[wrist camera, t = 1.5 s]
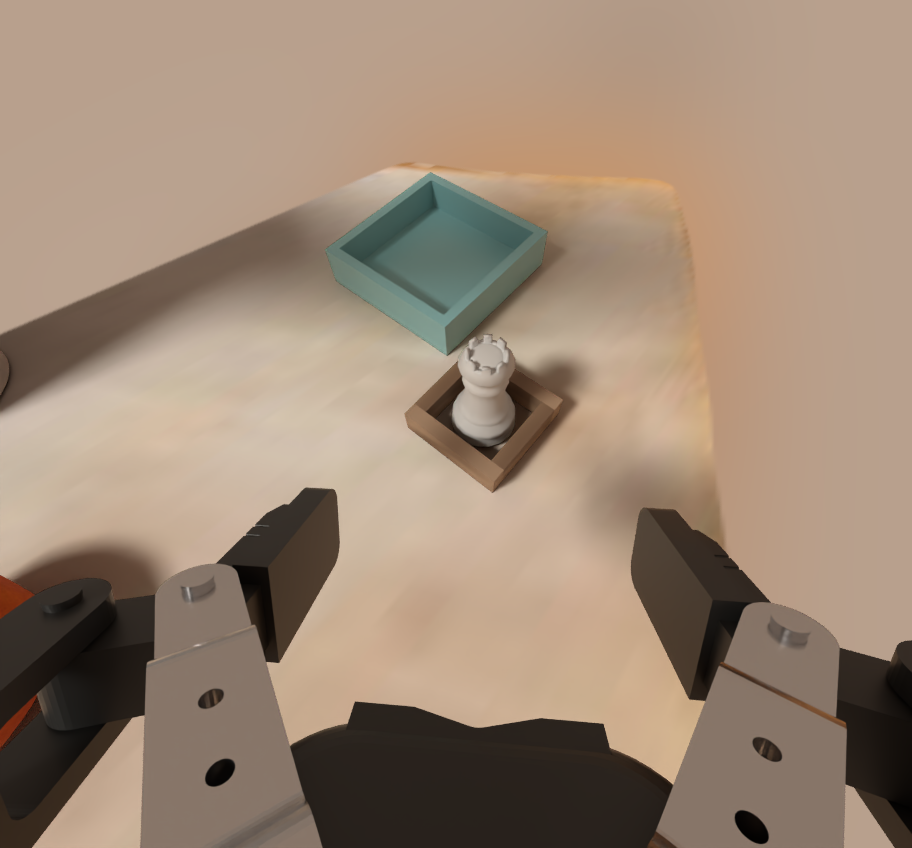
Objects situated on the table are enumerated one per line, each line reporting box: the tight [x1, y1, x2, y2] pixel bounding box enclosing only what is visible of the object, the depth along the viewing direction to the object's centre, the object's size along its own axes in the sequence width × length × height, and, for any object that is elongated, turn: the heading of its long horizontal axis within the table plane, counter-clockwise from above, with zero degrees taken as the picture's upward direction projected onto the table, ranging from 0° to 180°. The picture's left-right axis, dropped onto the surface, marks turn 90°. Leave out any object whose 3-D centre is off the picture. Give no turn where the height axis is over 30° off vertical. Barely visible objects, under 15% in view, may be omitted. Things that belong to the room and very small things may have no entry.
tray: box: [325, 172, 548, 355], centre depth 36 cm, size 13×13×3 cm
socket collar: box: [405, 361, 563, 493], centre depth 30 cm, size 8×8×2 cm
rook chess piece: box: [452, 334, 515, 447], centre depth 27 cm, size 4×4×8 cm
